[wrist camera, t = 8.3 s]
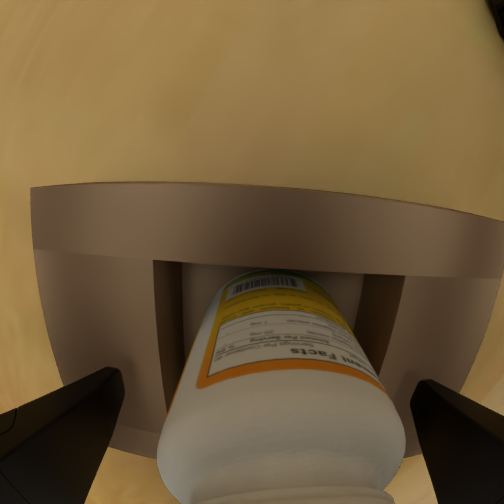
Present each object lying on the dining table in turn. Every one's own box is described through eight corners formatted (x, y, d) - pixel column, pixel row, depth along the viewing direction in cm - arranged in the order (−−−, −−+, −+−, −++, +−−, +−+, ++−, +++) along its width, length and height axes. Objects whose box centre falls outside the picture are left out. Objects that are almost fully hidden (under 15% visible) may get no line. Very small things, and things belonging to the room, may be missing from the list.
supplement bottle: (273, 398, 12) (283, 600, 3) (178, 331, 12) (78, 552, 2) (362, 320, 11) (485, 524, 2) (267, 233, 11) (311, 527, 1)
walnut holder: (452, 209, 11) (511, 223, 7) (398, 405, 13) (423, 453, 10) (90, 182, 11) (30, 187, 7) (114, 390, 14) (85, 438, 10)
